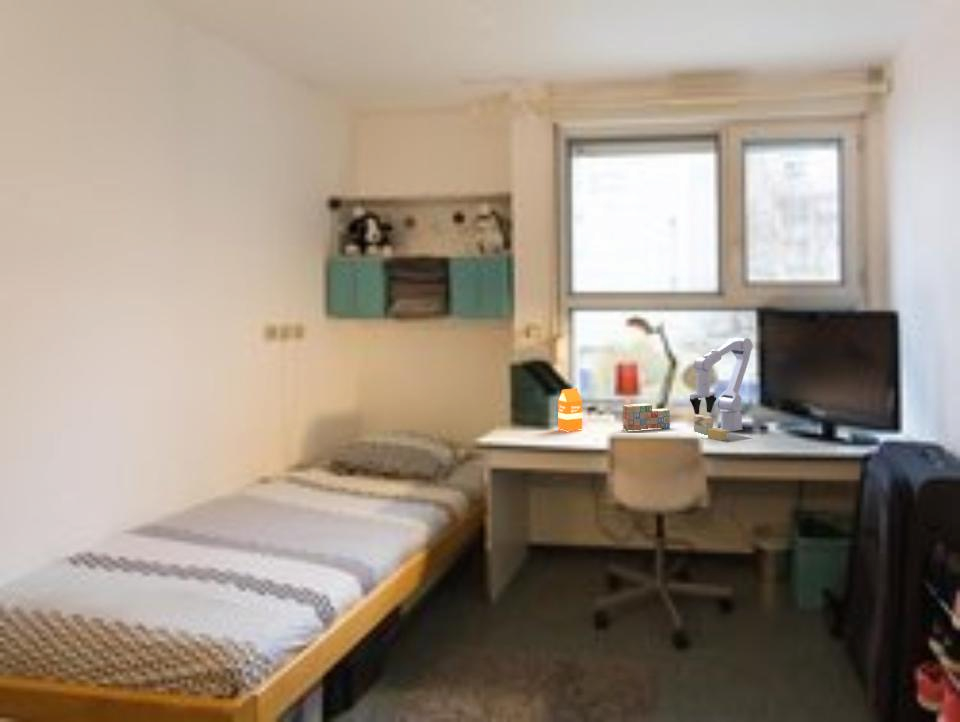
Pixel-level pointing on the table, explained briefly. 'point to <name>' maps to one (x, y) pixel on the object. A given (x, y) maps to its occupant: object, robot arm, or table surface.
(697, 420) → the birch brick
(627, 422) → the stack of blocks
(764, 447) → the table surface
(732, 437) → the desk mat
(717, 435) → the ochre brick
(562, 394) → the orange juice
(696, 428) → the sage brick
